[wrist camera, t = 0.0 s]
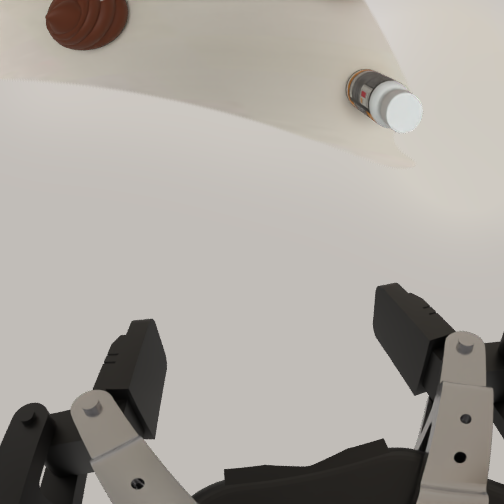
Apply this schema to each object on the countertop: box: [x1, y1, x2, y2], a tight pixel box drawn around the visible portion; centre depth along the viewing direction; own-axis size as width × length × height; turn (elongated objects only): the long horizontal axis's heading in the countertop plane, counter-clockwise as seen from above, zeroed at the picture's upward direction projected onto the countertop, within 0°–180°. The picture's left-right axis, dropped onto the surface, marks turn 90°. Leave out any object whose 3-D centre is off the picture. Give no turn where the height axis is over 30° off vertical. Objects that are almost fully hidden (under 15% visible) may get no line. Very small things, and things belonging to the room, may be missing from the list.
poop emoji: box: [45, 0, 128, 50], centre depth 21 cm, size 10×8×9 cm
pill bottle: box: [347, 69, 423, 133], centre depth 31 cm, size 6×6×10 cm
